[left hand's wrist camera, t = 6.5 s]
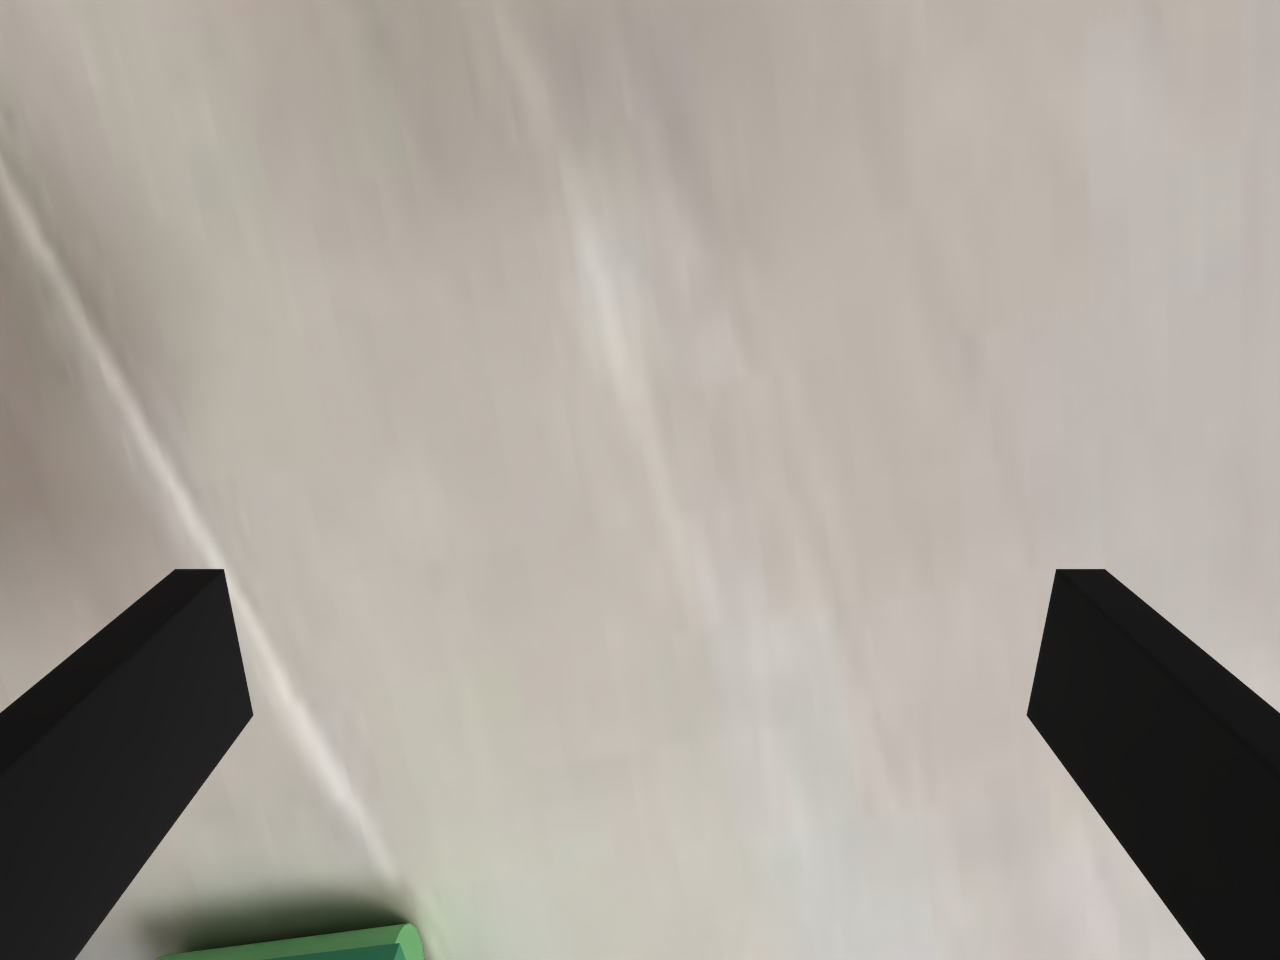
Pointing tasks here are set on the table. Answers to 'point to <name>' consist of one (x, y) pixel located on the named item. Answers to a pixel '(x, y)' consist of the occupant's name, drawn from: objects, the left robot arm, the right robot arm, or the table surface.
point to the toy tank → (324, 947)
